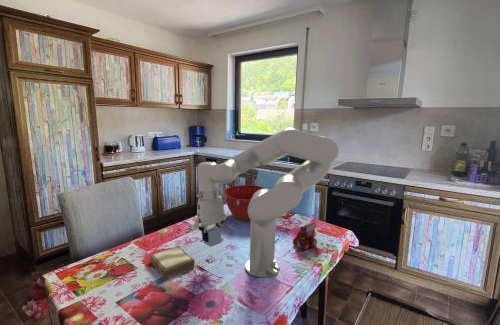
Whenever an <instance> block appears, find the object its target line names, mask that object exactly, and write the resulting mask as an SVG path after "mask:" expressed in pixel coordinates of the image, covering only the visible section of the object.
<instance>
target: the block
mask: <svg viewBox="0 0 500 325" xmlns="http://www.w3.org/2000/svg"><path fill="white" fill-rule="evenodd" d="M207 232H208V242H205V241H204V240H203V239H202V241H203V244H205V245H206V246H208V247H210V248H211V247H214V246H216V245H219V244H221V243H222V229H221V230H220V228H219V227H217V226H216V224H215V225H214V224H212V225H209V226H208V227H207Z"/></svg>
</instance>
